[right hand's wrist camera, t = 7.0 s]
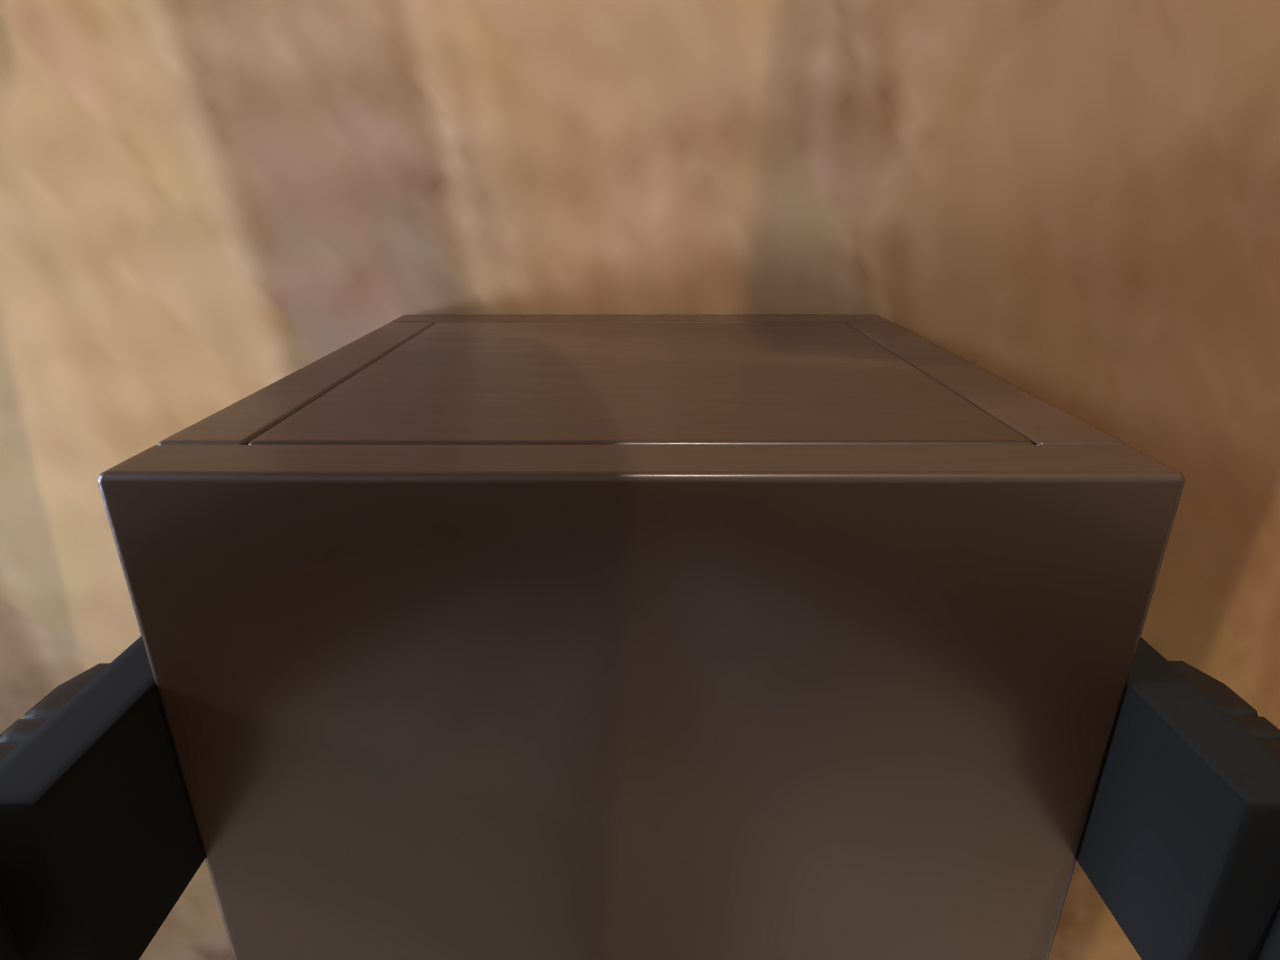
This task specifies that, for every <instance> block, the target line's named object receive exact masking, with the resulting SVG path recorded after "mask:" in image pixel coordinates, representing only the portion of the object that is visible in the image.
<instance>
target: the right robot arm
mask: <svg viewBox="0 0 1280 960" xmlns="http://www.w3.org/2000/svg"><path fill="white" fill-rule="evenodd" d="M204 859H205V855H204V852H203V848H202V845H201V841H200V838H199V834H198V831H197V827H196V824H195V820H194V817H193V813H192V810H191V806H190V803H189V799H188V796H187V792H186V789H185V785H184V782H183V778H182V775H181V771H180V768H179V764H178V761H177V757H176V754H175V750H174V747H173V743H172V740H171V736H170V733H169V729H168V726H167V722H166V719H165V715H164V712H163V708H162V705H161V701H160V698H159V694H158V691H157V687H156V684H155V680H154V677H153V673H152V670H151V666H150V663H149V659H148V656H147V652H146V649H145V645H144V642H143V638H142V636H141V637H140V638H139V639H138V640H136V641H135V642H134V643H133V644H132V645H131V646H130V647H128V648H127V649H126V650H125V651H124V652H123V653H122V654H121V655H119V656H118V657H117V658H116V659H115V660H114V661H113V662H112V663H110V664H98V665H96V666H94V667H92V668H90V669H89V670H87V671H85V672H83V673H81V674H80V675H78V676H76V677H74V678H72V679H70V680H69V681H67V682H65V683H63V684H61V685H59V686H58V687H56V688H55V689H54V690H53V691H52V692H50V693H49V694H48V695H47V696H46V697H44V698H43V699H42V700H41V701H40V702H38V703H37V704H36V705H35V706H34V707H33V708H31V709H30V710H29V711H28V712H27V713H25V718H24V719H18V720H17V721H16V722H15V723H14V724H12V725H11V726H10V727H9V728H8V729H6V730H5V731H4V732H3V733H2V734H1V735H0V960H139V958H140V957H141V955H142V954H143V952H144V951H145V949H146V948H147V946H148V945H149V943H150V942H151V940H152V939H153V937H154V936H155V934H156V932H157V931H158V929H159V928H160V926H161V925H162V923H163V922H164V920H165V919H166V917H167V916H168V914H169V913H170V911H171V910H172V908H173V907H174V905H175V903H176V902H177V900H178V899H179V897H180V896H181V894H182V893H183V891H184V890H185V888H186V887H187V885H188V884H189V882H190V881H191V879H192V878H193V876H194V874H195V873H196V871H197V870H198V868H199V867H200V865H201V864H202V862H203V861H204ZM1076 860H1077V861H1078V863H1079V864H1080V866H1081V867H1082V869H1083V870H1084V872H1085V873H1086V875H1087V876H1088V878H1089V879H1090V881H1091V882H1092V884H1093V885H1094V887H1095V889H1096V890H1097V892H1098V893H1099V895H1100V896H1101V898H1102V899H1103V901H1104V902H1105V904H1106V905H1107V907H1108V908H1109V910H1110V911H1111V913H1112V914H1113V916H1114V917H1115V919H1116V921H1117V922H1118V924H1119V925H1120V927H1121V928H1122V930H1123V931H1124V933H1125V934H1126V936H1127V937H1128V939H1129V940H1130V942H1131V943H1132V945H1133V946H1134V948H1135V950H1136V951H1137V953H1138V954H1139V956H1140V957H1141V959H1142V960H1280V730H1279V729H1278V728H1276V727H1275V726H1274V725H1273V724H1272V723H1270V722H1269V721H1268V720H1267V719H1266V718H1264V717H1258V715H1257V711H1256V710H1255V709H1254V708H1252V707H1251V706H1250V705H1249V704H1248V703H1247V702H1245V701H1244V700H1243V699H1242V698H1241V697H1239V696H1238V695H1237V694H1236V693H1235V692H1233V691H1232V690H1231V689H1230V688H1229V687H1227V686H1226V685H1225V684H1223V683H1222V682H1220V681H1218V680H1216V679H1214V678H1212V677H1210V676H1209V675H1207V674H1205V673H1203V672H1201V671H1199V670H1198V669H1196V668H1194V667H1192V666H1190V665H1188V664H1187V663H1185V662H1183V661H1167V660H1166V659H1165V658H1164V657H1163V656H1161V655H1160V654H1159V653H1158V652H1157V651H1156V650H1155V649H1154V648H1152V647H1151V646H1150V645H1149V644H1148V643H1147V642H1146V641H1145V640H1143V639H1142V638H1141V637H1140V640H1139V643H1138V647H1137V650H1136V653H1135V657H1134V660H1133V664H1132V667H1131V671H1130V674H1129V678H1128V681H1127V685H1126V688H1125V692H1124V695H1123V699H1122V702H1121V706H1120V709H1119V713H1118V716H1117V720H1116V723H1115V727H1114V730H1113V734H1112V737H1111V741H1110V744H1109V748H1108V751H1107V755H1106V758H1105V762H1104V765H1103V768H1102V772H1101V775H1100V779H1099V782H1098V786H1097V789H1096V793H1095V796H1094V800H1093V803H1092V807H1091V810H1090V814H1089V817H1088V821H1087V824H1086V828H1085V831H1084V835H1083V838H1082V842H1081V845H1080V849H1079V852H1078V856H1077V859H1076Z"/></svg>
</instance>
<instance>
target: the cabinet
mask: <svg viewBox="0 0 1280 960" xmlns="http://www.w3.org/2000/svg"><path fill="white" fill-rule="evenodd" d="M1184 483H1185V481H1184V476H1183V475H1182V473H1180V472H1178V471H1176V470H1174V469H1172V468H1170V467H1168V466H1166V465H1164V464H1162V463H1160V462H1158V461H1157V460H1155V459H1153V458H1151V457H1149V456H1147V455H1145V454H1143V453H1141V452H1139V451H1137V450H1135V449H1133V448H1131V447H1129V446H1127V445H1125V443H1124V442H1122V441H1121V440H1119V439H1117V438H1115V437H1113V436H1111V435H1109V434H1107V433H1105V432H1103V431H1101V430H1099V429H1097V428H1095V427H1093V426H1091V425H1089V424H1088V423H1086V422H1084V421H1082V420H1080V419H1078V418H1076V417H1074V416H1072V415H1070V414H1068V413H1066V412H1064V411H1062V410H1060V409H1058V408H1057V407H1055V406H1053V405H1051V404H1049V403H1047V402H1045V401H1043V400H1041V399H1039V398H1037V397H1035V396H1033V395H1031V394H1029V393H1027V392H1025V391H1024V390H1022V389H1020V388H1018V387H1016V386H1014V385H1012V384H1010V383H1008V382H1006V381H1004V380H1002V379H1000V378H998V377H996V376H994V375H993V374H991V373H989V372H987V371H985V370H983V369H981V368H979V367H977V366H975V365H973V364H971V363H969V362H967V361H965V360H963V359H962V358H960V357H958V356H956V355H954V354H952V353H950V352H948V351H946V350H944V349H942V348H940V347H938V346H936V345H934V344H932V343H930V342H929V341H927V340H925V339H923V338H921V337H919V336H917V335H915V334H913V333H911V332H909V331H907V330H905V329H903V328H901V327H899V326H898V325H896V324H894V323H892V322H890V321H888V320H886V319H884V318H882V317H880V316H878V315H403V316H401V317H399V318H397V319H395V320H394V321H392V322H391V323H388V324H387V325H385V326H383V327H381V328H379V329H377V330H375V331H373V332H371V333H369V334H367V335H365V336H363V337H361V338H359V339H358V340H356V341H354V342H352V343H350V344H348V345H346V346H344V347H342V348H340V349H338V350H336V351H334V352H332V353H331V354H329V355H327V356H325V357H323V358H321V359H319V360H317V361H315V362H313V363H311V364H309V365H307V366H305V367H303V368H302V369H300V370H298V371H296V372H294V373H292V374H290V375H288V376H286V377H284V378H282V379H280V380H278V381H276V382H274V383H273V384H271V385H269V386H267V387H265V388H263V389H261V390H259V391H257V392H255V393H253V394H251V395H249V396H247V397H246V398H244V399H242V400H240V401H238V402H236V403H234V404H232V405H230V406H228V407H226V408H224V409H222V410H220V411H218V412H217V413H215V414H213V415H211V416H209V417H207V418H205V419H203V420H201V421H199V422H197V423H195V424H193V425H191V426H190V427H188V428H186V429H184V430H182V431H180V432H178V433H176V434H174V435H172V436H170V437H168V438H166V439H164V440H162V441H161V442H159V444H158V445H155V446H153V447H151V448H149V449H147V450H145V451H143V452H141V453H139V454H137V455H135V456H133V457H131V458H130V459H128V460H126V461H124V462H122V463H120V464H118V465H116V466H114V467H112V468H110V469H108V470H106V471H105V472H103V473H101V474H100V475H99V477H98V485H99V488H100V492H101V495H102V499H103V502H104V506H105V509H106V513H107V516H108V520H109V523H110V527H111V530H112V534H113V537H114V541H115V544H116V548H117V551H118V555H119V558H120V562H121V565H122V569H123V572H124V576H125V579H126V583H127V586H128V590H129V593H130V597H131V600H132V604H133V607H134V611H135V614H136V618H137V621H138V625H139V628H140V632H141V635H142V638H143V642H144V645H145V649H146V652H147V656H148V659H149V663H150V666H151V670H152V673H153V677H154V680H155V684H156V687H157V691H158V694H159V698H160V701H161V705H162V708H163V712H164V715H165V719H166V722H167V726H168V729H169V733H170V736H171V740H172V743H173V747H174V750H175V754H176V757H177V761H178V764H179V768H180V771H181V775H182V778H183V782H184V785H185V789H186V792H187V796H188V799H189V803H190V806H191V810H192V813H193V817H194V820H195V824H196V827H197V831H198V834H199V838H200V841H201V845H202V848H203V852H204V855H205V859H206V862H207V866H208V869H209V873H210V876H211V880H212V883H213V887H214V890H215V894H216V897H217V901H218V904H219V908H220V911H221V915H222V918H223V922H224V925H225V929H226V932H227V936H228V939H229V943H230V946H231V950H232V953H233V957H234V960H1048V957H1049V953H1050V950H1051V946H1052V943H1053V939H1054V936H1055V932H1056V929H1057V925H1058V922H1059V918H1060V915H1061V911H1062V908H1063V904H1064V901H1065V897H1066V894H1067V890H1068V887H1069V883H1070V880H1071V876H1072V873H1073V870H1074V866H1075V863H1076V859H1077V856H1078V852H1079V849H1080V845H1081V842H1082V838H1083V835H1084V831H1085V828H1086V824H1087V821H1088V817H1089V814H1090V810H1091V807H1092V803H1093V800H1094V796H1095V793H1096V789H1097V786H1098V782H1099V779H1100V775H1101V772H1102V768H1103V765H1104V762H1105V758H1106V755H1107V751H1108V748H1109V744H1110V741H1111V737H1112V734H1113V730H1114V727H1115V723H1116V720H1117V716H1118V713H1119V709H1120V706H1121V702H1122V699H1123V695H1124V692H1125V688H1126V685H1127V681H1128V678H1129V674H1130V671H1131V667H1132V664H1133V660H1134V657H1135V653H1136V650H1137V647H1138V643H1139V640H1140V636H1141V633H1142V629H1143V626H1144V622H1145V619H1146V615H1147V612H1148V608H1149V605H1150V601H1151V598H1152V594H1153V591H1154V587H1155V584H1156V580H1157V577H1158V573H1159V570H1160V566H1161V563H1162V559H1163V556H1164V552H1165V549H1166V545H1167V542H1168V539H1169V535H1170V532H1171V528H1172V525H1173V521H1174V518H1175V514H1176V511H1177V507H1178V504H1179V500H1180V497H1181V493H1182V490H1183V486H1184Z"/></svg>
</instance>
